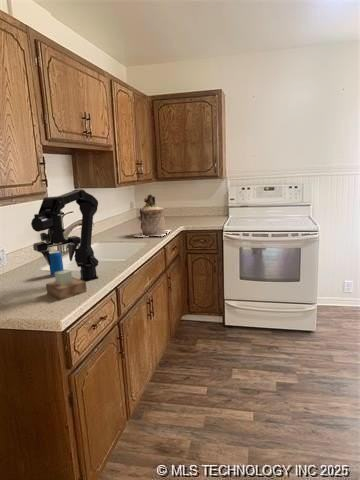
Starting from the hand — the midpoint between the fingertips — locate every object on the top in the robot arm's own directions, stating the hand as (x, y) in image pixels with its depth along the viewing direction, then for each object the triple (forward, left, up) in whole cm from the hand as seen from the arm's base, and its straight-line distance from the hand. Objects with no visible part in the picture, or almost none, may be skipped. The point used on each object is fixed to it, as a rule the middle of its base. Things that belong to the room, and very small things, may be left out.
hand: (60, 263), depth 150 cm
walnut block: (0, +3, -13) cm, 14 cm away
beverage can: (-8, -29, -13) cm, 33 cm away
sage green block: (0, +2, -8) cm, 9 cm away
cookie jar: (-103, -77, -13) cm, 129 cm away
